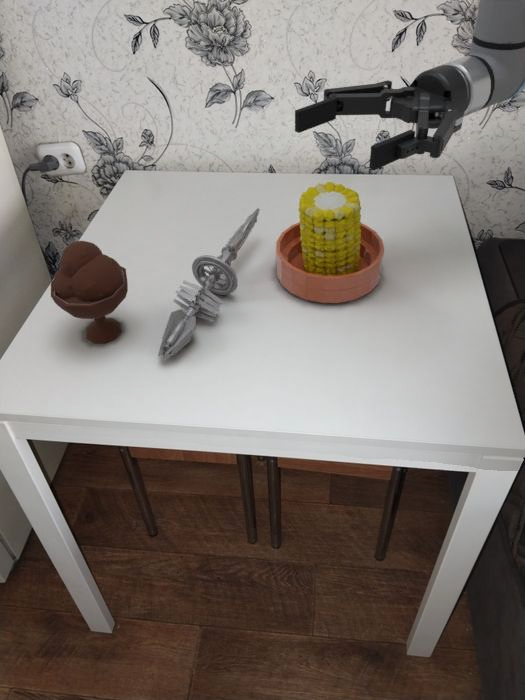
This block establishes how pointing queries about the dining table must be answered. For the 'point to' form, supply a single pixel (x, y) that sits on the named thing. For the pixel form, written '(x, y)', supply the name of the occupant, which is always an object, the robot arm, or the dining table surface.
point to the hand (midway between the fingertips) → (332, 139)
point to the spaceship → (204, 291)
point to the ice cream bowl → (90, 288)
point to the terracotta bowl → (328, 286)
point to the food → (330, 229)
